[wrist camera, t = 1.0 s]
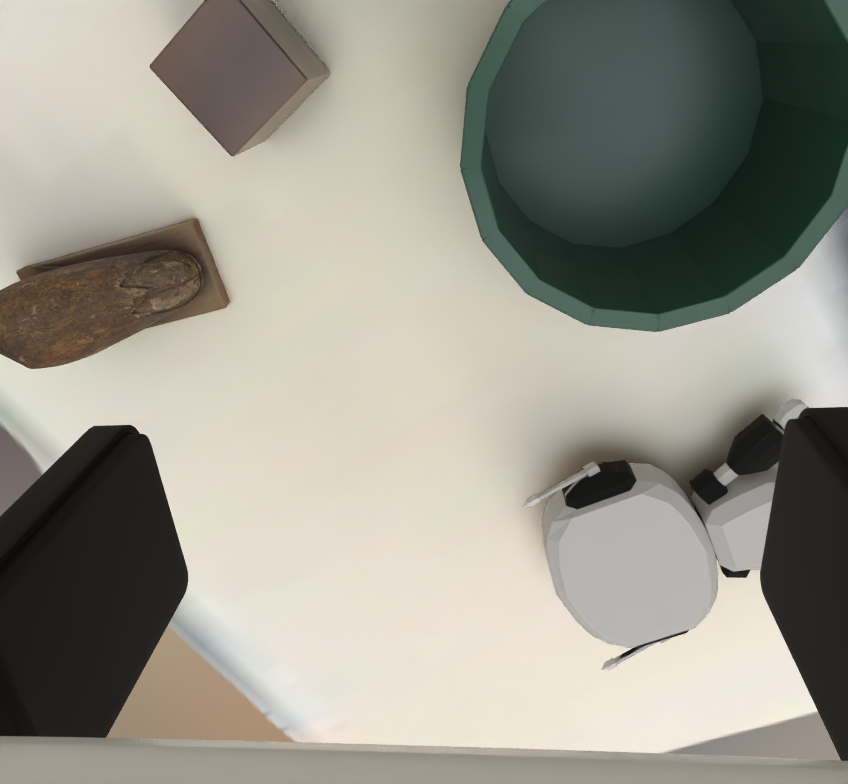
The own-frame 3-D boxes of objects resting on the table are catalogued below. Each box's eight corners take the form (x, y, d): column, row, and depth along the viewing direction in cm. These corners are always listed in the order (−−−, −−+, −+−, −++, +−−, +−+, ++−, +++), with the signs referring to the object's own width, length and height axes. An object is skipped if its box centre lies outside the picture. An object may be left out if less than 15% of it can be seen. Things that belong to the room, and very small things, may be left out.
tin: (412, 97, 31) (383, 121, 23) (664, -142, 27) (737, -214, 19) (582, 309, 35) (609, 393, 27) (831, 131, 30) (951, 169, 22)
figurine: (1, 361, 39) (-121, 444, 31) (-44, 285, 37) (-185, 352, 29) (233, 302, 36) (162, 376, 28) (197, 216, 34) (110, 270, 27)
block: (191, 61, 31) (147, 66, 27) (258, -15, 30) (222, -22, 26) (263, 142, 32) (231, 157, 29) (331, 73, 31) (308, 79, 27)
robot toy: (785, 361, 36) (506, 466, 39) (829, 401, 32) (514, 515, 35) (834, 543, 40) (582, 625, 43) (879, 598, 36) (597, 684, 39)
